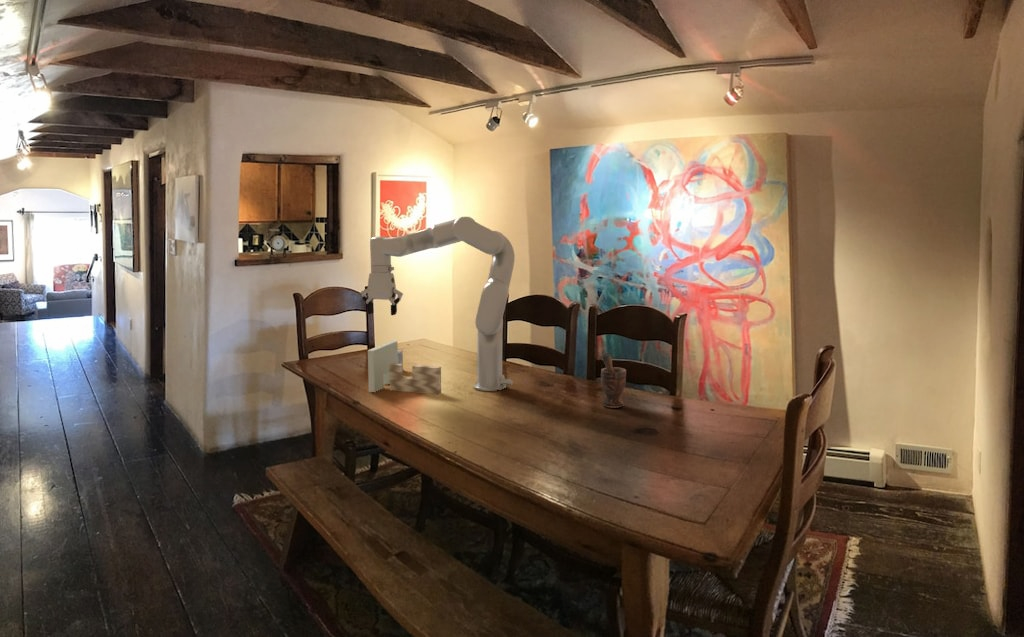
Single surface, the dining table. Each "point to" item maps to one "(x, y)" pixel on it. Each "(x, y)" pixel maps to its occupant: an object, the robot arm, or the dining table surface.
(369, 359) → the sage plate
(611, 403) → the mortar and pestle
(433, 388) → the maple board
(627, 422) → the dining table surface
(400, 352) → the medicine box
